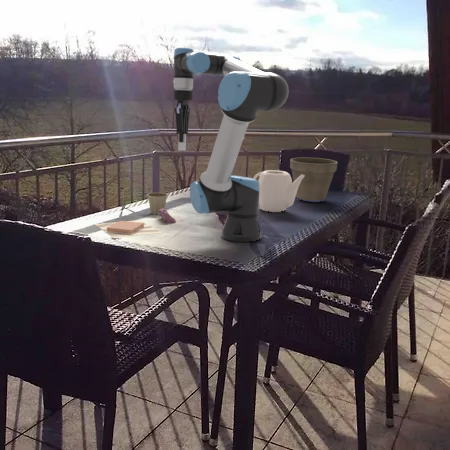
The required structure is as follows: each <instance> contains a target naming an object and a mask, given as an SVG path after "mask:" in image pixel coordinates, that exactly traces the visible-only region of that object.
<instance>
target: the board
mask: <svg viewBox="0 0 450 450" xmlns="http://www.w3.org/2000/svg"><path fill="white" fill-rule="evenodd" d="M117 222H118V221H115V222H104V223H95V224H94V225H95V226H96V227H97V228H99V229H100V230H101V231H103V232H104V233H106V234H107V235H108V236H111V237H110V238H111V239H112V240H113V241H114V240H115V241H116V239H118V240H120V238H127V237H135V236H145V235H153V234H162V232H161V231H160V230H158V229H156V228H154V227H152V226H151V225H149V224H147V223H146V222H144V221H142V220H138V219H137V220H128V222H138V223H144V227H143V228H141V229H140V230H138V231H136V232H135V233H133V234H124V233H115V232H107V227H109V226H111V225H113V224H115V223H117Z"/></svg>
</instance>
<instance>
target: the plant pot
mask: <svg viewBox="0 0 450 450" xmlns="http://www.w3.org/2000/svg"><path fill="white" fill-rule="evenodd" d="M289 161H290V162H289V163H290V165H289V168H290V169H291V173H292V174H291V175H292V181H293V182H294V181H295V180H296V179H297V178H298V177H299V176H300V175H305V176H304V178H303V179H302V180H301V183H300V185H299V187H298V190H297V193H296V198H299V199H303V200H322V199H325V200H326V198H327V195H328V191H329V189H330V187H331V183H332V181H333V178H334V174H335V173H336V172H337V170H338V169H337V168H338V161H337V160H333V159H329V158H322V157H321V158H320V157H294V158H293V157H292V158H290V160H289Z"/></svg>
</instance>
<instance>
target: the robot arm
mask: <svg viewBox="0 0 450 450" xmlns="http://www.w3.org/2000/svg"><path fill="white" fill-rule="evenodd" d="M194 74H197V75H198V74H199V75H211V76H212V75H213V76H215V75H216V76H222V77H223V78H222V79H221V81H220V83H219V86H218V90H217V91H218V92H217V95H218V96H217V101H218V104H219V106H220V110H221V113H222V114H223V117H222V119H221V123H220V124H219V125H220V126H219V129H218V131H217V132H218V133H217V136H216V138H215V142H214V145H213V148H212V149H213V150H212V152H211V155H210V158H209V161H208V165H207V167H206V168H207V169H206V170H205V171H203V172H202V173H201V174H200V177H199V180H197V181H196V180H195V181H193V182H192V183H191V184H190V187H189V196H190V201H191V204H192V208H193V209H194V211H195V212H196V213H198V214H206V215H209V214H217V213H227V216H226V218H225V219H226V220H225V222H224V225H223V227H222V230H221V237H222V238H223V239H225V240H227V241H230V242H231V241H232V242H239V243H251V242H250V241H253V242H256V240H258V241H260V240H261V239H262V230H261V226H260V221H259V193H260V188H259V182H258V181H259V180H257V178H256V179H253V178H252V177H248V176H247V177H246V176H241V175H232V174H233V170H234V168H235V164H236V161H237V160H238V159H237V158H238V155H239V153H240V150H241V148H242V144H243V142H244V139H245V135H246V132H247V130H248V127H249V124H250V123H253V122H255V121H256V118H257V115H258V114H259V113H258V112H272V111H276V110H278V109H279V108H281V107H282V106H284V104H285V103H286V102H287V99H288V97H289V93H290V92H289V91H290V90H289V85H288V83H287V81H286V79H285V78H284V77H283V76H281V75H279V74H277V73H274V72H271V71H269V72H265V71H262V70H260V69H258V68H256V67H253V66H251V65H250V64H247V63H245V62H243V61H242V60H241V58H240V57H239V56H237V55H232V54H221V53H219V54H218V53H209V52H207V53H206V52H203V51H194V49H193V48H192V47H191V48H190V47H176V48H175V49H174V53H173V80H172V83H173V88H174V90H173V100H175V101H177V103H176V107H174V113H175V128H176V131H175V132H176V134H177V135H178V139H177V140H178V142H177V143H178V144H177V148H178V149H177V150H178V151H183V152H184V151H187V149H186V148H187V135H188V134H189V126H190V125H189V124H190V123H189V122H190V114H191V107H190V105H189V101H193V99H194V98H193V97H194V96H193V95H194V94H193V92H194V91H193V89H194ZM259 239H260V240H259Z"/></svg>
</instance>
